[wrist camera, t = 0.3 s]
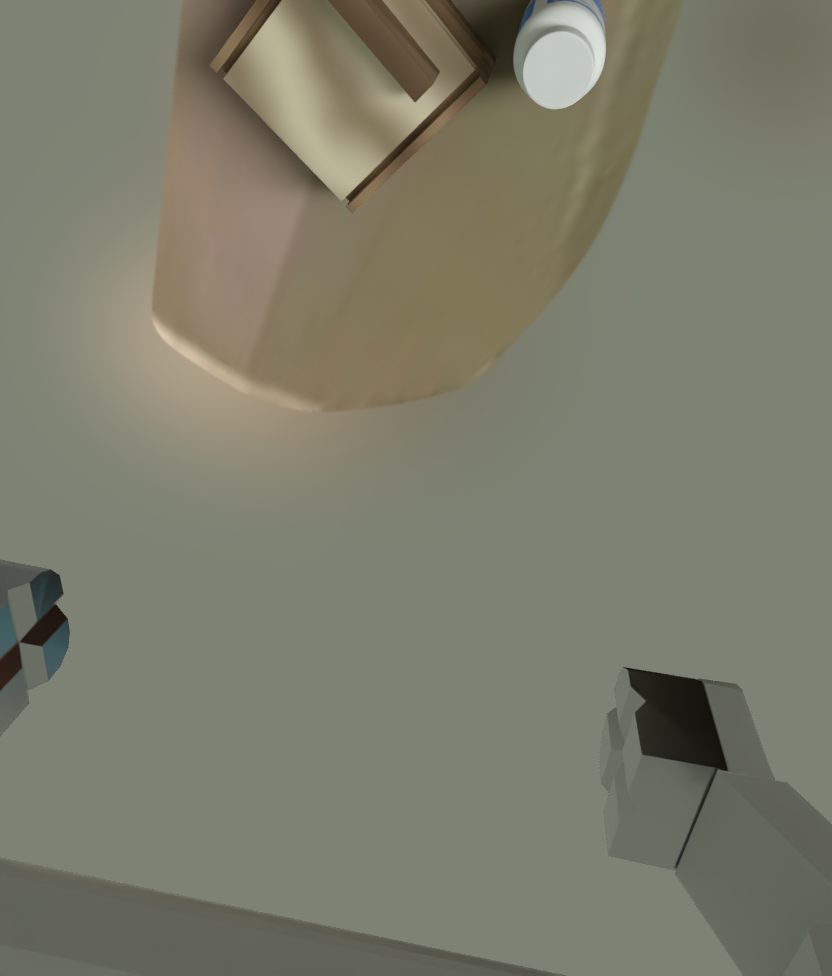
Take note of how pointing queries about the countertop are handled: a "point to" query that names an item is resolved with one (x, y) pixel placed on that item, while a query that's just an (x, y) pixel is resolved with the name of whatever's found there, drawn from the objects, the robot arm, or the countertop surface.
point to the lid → (348, 80)
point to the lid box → (426, 129)
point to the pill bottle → (560, 50)
